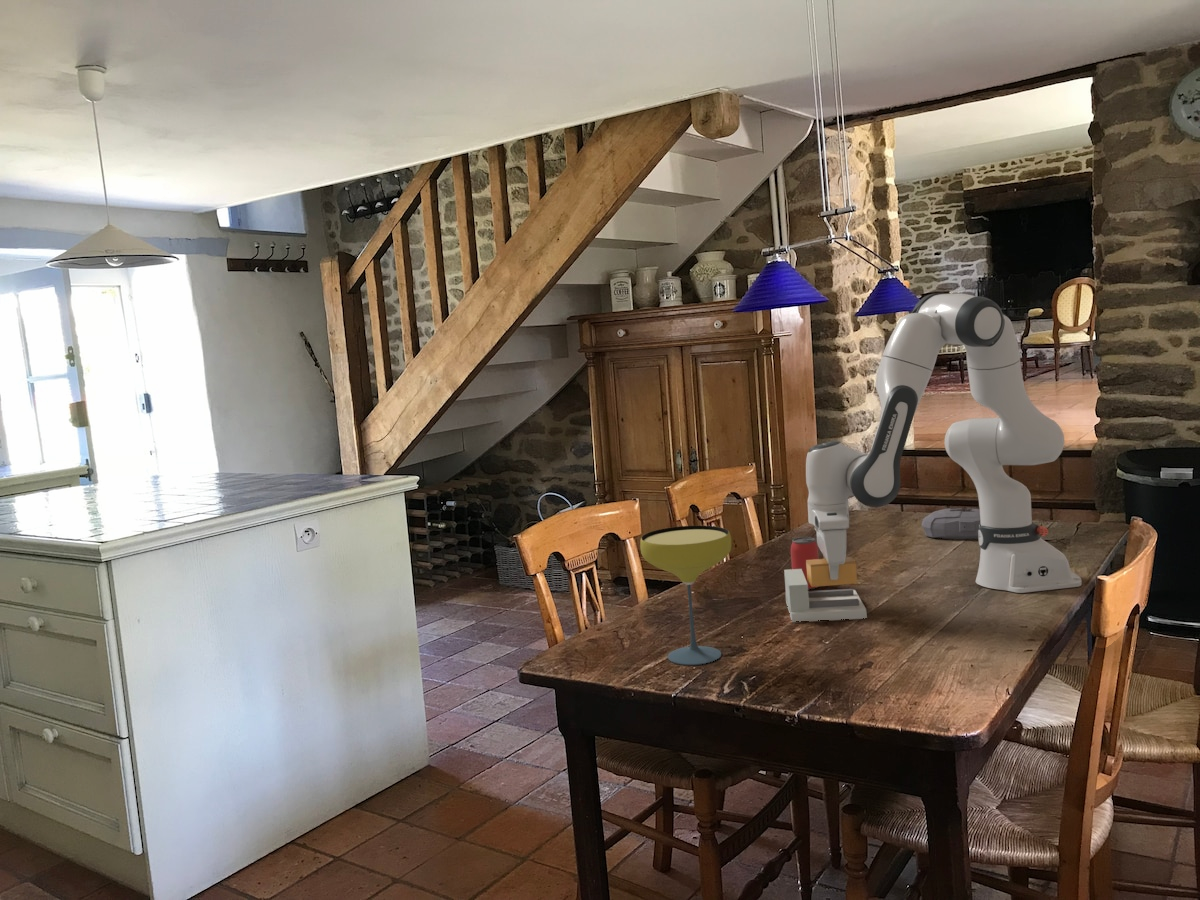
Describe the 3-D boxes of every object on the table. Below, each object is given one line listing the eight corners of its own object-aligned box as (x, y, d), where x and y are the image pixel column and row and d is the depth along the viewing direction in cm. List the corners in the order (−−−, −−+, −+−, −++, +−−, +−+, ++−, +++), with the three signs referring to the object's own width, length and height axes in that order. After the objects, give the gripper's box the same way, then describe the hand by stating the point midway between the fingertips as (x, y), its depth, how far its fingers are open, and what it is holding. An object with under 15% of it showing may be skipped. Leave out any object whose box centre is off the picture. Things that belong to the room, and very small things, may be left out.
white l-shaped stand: (855, 598, 219) (853, 564, 218) (866, 618, 204) (864, 582, 203) (786, 601, 221) (783, 568, 220) (791, 622, 206) (789, 586, 205)
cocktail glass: (738, 671, 179) (728, 542, 176) (644, 673, 182) (633, 547, 179) (740, 640, 197) (732, 523, 194) (655, 642, 200) (645, 527, 197)
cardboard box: (851, 578, 213) (850, 556, 213) (857, 583, 208) (855, 561, 208) (807, 581, 213) (806, 560, 213) (812, 586, 208) (810, 564, 208)
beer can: (820, 590, 229) (817, 541, 227) (793, 591, 230) (790, 543, 229) (819, 583, 235) (817, 536, 234) (793, 583, 236) (790, 537, 235)
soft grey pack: (995, 530, 275) (924, 530, 283) (994, 502, 274) (922, 503, 282) (995, 541, 261) (919, 541, 270) (993, 512, 261) (918, 513, 269)
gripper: (808, 507, 220) (812, 565, 221) (819, 523, 200) (823, 587, 201) (836, 505, 219) (839, 564, 221) (850, 522, 199) (853, 585, 200)
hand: (831, 575), depth 211 cm, fingers closed on cardboard box, 5 cm apart
